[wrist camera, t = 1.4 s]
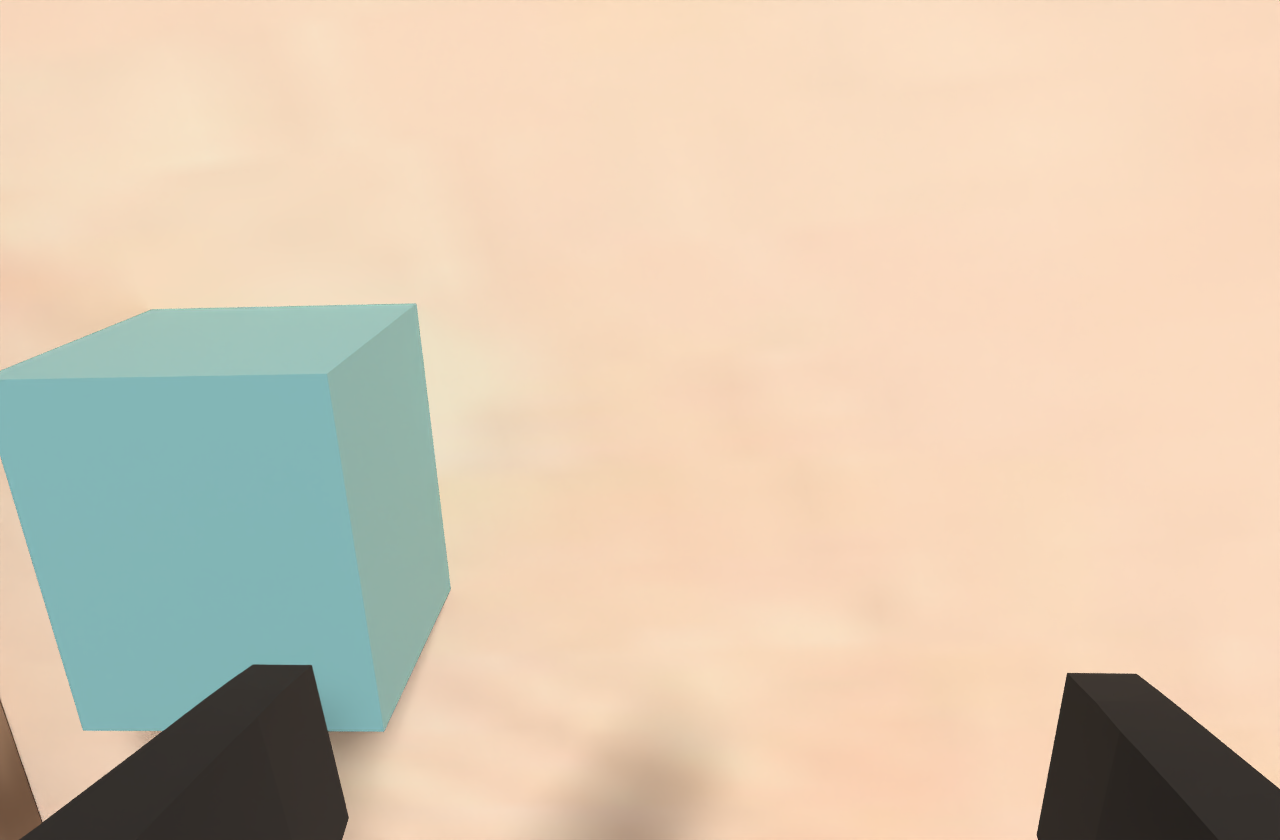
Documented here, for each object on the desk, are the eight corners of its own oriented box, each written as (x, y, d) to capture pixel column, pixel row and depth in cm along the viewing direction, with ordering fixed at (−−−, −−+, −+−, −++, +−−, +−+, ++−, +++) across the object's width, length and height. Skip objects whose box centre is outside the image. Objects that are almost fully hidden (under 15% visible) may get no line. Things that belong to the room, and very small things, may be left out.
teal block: (452, 585, 18) (384, 731, 14) (217, 586, 19) (83, 730, 14) (418, 302, 16) (326, 374, 12) (156, 307, 17) (-23, 380, 12)
